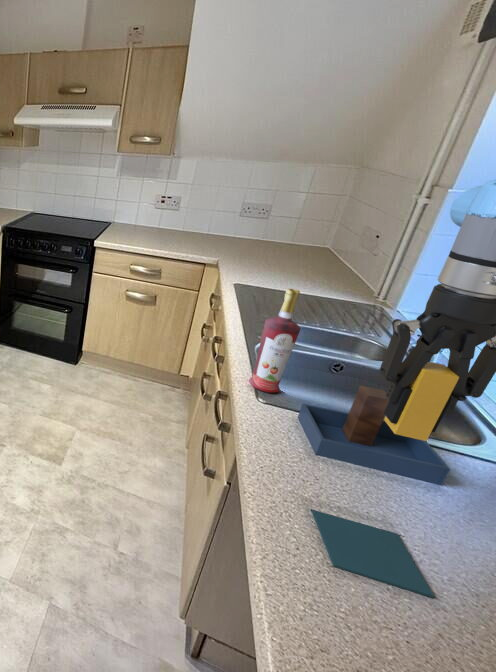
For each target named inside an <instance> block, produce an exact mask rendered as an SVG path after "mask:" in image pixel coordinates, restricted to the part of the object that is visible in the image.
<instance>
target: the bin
mask: <svg viewBox="0 0 496 672" xmlns="http://www.w3.org/2000/svg"><path fill="white" fill-rule="evenodd" d="M348 414H349V412H347V411H342V410H336V409H332V408H327V407H322V406H317V405H313V404H308V403H302V404H301V408H300V410H299V413H298V415H297V419H298V422H299V423H300V426H301V428H302V430H303V432H304V434H305V436H306V438H307V440H308V442H309V445H310V446H311V448H312V451H313V452H314V455H315V456H318V457H321V458H322V457H323V458H327V459H331V460H335V461H339V462H343V463H348V464H351V465H354V466H355V465H356V466H360V467H362V468H368V469H371V470H376V471H379V472H385V473H387V474H392V475H397V476H400V477H404V478H409V479H412V480H417V481H421V482H425V483H429V484H433V485H437V486H443V484H444V482H445V481H446V479H447V477H448V475H449V473H450V471H451V468H450V467H449V465H448V464H447V463H446V462H445V461H444V460H443V459H442V458H441V457H440V455H439V454H438V453H437V452H436V451H435V449H434V448H433V447H432V446H431V445H430V443H428V440H427V441H423V440H419V439H414V438H410V437H406V436H401V435H397V434H394V432H393V431H392V430H391V428H390V427H389V426H388V424H387V423H386V422H385V420H383V422H382V424H381V426H380V429H379V431H378V433H377V435H376V437H375V440H374V442H373V444H372V446H371V447H370V446H366V445H362V444H357V443H353V442H349V441H348V440H347V438H346V436H345V435H344V433H343V431H342V429H343V426H344V424H345V421H346V419H347V416H348Z"/></svg>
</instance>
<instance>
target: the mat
mask: <svg viewBox="0 0 496 672" xmlns="http://www.w3.org/2000/svg"><path fill="white" fill-rule="evenodd" d="M310 511H311V514H312V517H313V520H314V522H315V524H316V527H317V529H318V531H319V534H320V537H321V539H322V541H323V545H324V547H325V549H326V552H327V554H328V556H329V557H328V558H329V560H330V562H331V564H332V567H334V568H337V569H339V570H342V571H345V572H348V573H352V574H355V575H358V576H362V577H365V578H368V579H372V580H374V581H377V582H381V583H383V584H387V585H390V586H394V587H396V588H399V589H402V590H406V591H409V592H412V593H415V594H418V595H421V596H424V597H427V598H431V599H434V598H435V595H434V593H433V591H432V590H431V587H430V586H429V584H428V583H427V581H426V579H425V578H424V576H423V574H422V573H421V571H420V569H419V568H418V566H417V564H416V562H415V561H414V559H413V558H412V556H411V554H410V552H409V551H408V549H407V547H406V546H405V544H404V541H403V540H402V539H401V537H400V536H399V534H398V533H397V532H393V531H390V530H386V529H382V528H379V527H376V526H372V525H369V524H366V523H361V522H357V521H354V520H351V519H347V518H345V517H340V516H336V515H333V514H329V513H326V512H323V511H320V510H315V509H312V508H310Z"/></svg>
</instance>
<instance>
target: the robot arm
mask: <svg viewBox="0 0 496 672" xmlns="http://www.w3.org/2000/svg"><path fill="white" fill-rule="evenodd" d="M449 216H450V219H451V221H452V223H453V224H455V225H456V226H458V227H459V230H458V232H457V235H456V238H455V240H454V242H453V244H452V247H451V249H450V251H449V254H448V255H447V258H446V259H445V261H444V264H443V266H442V269H441V271H440V273H439V274H438V276H437V279H436V280H437V281H438V282H439V283H438V284H436V285H434V286H433V288H432V291H431V293H430V295H429V297H428V298H427V299H428V300H427V302H426V304H425V308H424V311H423V312H422V313H421V314H420V315H418V316H417V317H416V319H410V320H402V319H399V318H396V319H393V320H392V321H391V326H392V335H391V338H390V340H389V343H388V345H387V349H386V351H385V353H384V356H383V359H382V362H381V365H380V367H379V369H378V370H379V371H378V373H380V375H382V376H383V378H384V379H385V380H386V381H387V382H390V383H389V386H388V388H387V390H386V391H385V393H386V394H385V395H386V398H387V399H388V400H389V403H388V405H387V407H386V409H385V411H384V414H385V416H386V417H387V418H388V419H389V421H390V422H391V423H394V424H397V422H398V420H399V418H400V416H401V414H402V412H403V410H404V408H405V406H406V403H407V401H408V399H409V397H410V395H411V393H412V391H413V390H412V389H411V388H410V387H409V386H408V385H409V384H410V383H411V382H412V380H413V379H414V378H415V377H416V376H417V374H418V373H419V372H420V371H421V370H422V368H423V367H424V366H425V365H426V364H427V362H430V360H431V359H432V358H433V357H434V355H438V354H439V353H440V352H441V351H442V350H446V349H447V350H449V354H448V355H449V356H448V362H447V365H446V367H448V368H449V369H450V370H451V371H452V372H454V373H455V374H456V375H457V376H458V377H459V379H458V381H457V383H456V385H455V387H454V389H453V391H452V393H451V395H450V397H449V399H448V401H447V402H446V404H445V406H444V408H443V410H442V412H441V414H440V416H439V418H438V420H437V422H436V424H435V426H434V428H433V430H432V432H431V433H435V432H436V430H437V429H438V427H439V425H440V423H441V421H442V419H443V417H444V415H445V414H447V415H451V414H452V413H453V411H454V409H455V407H456V406H457V404H458V402H464V401H466V400H467V399H468V397H472V398H474V399H476V398H480V397H482V395H483V394H484V392H485V390H486V389H487V387H488V385H489V384H490V382H491V381H492V379H493V377H495V374H496V178H493V179H490V180H487V181H486V182H484V183H483V184H482V185H477V186H474V187H471V188H469V189H467V190H465V191H463V192H462V193H460V194H458V196H457V197H456V198H455V199H454V201H453V202H452V203H451V207H450V212H449ZM416 330H419V332H420V334H421V335H420V336H419V337H418V338H417V340H416V344H415V346H414V347H413V348H412V350H411V351H410V352H409V353H408V354H407V356H406V353H407V351H408V348H409V346H410V343H411V340H412V339H411V338H412V336H414V335H415V334H416ZM484 343H485V344H484ZM482 344H484V346H483V347H482V348H481V350H480V352H479V354H478V355H477V357H476V358H475V360H474V362H473V364H472V366H471V367H470V365H471V361H472V360H473V359H474V357H475V352H476V348H477V346H479V345H482ZM405 356H406V357H405Z"/></svg>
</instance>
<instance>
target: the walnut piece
mask: <svg viewBox="0 0 496 672" xmlns="http://www.w3.org/2000/svg"><path fill="white" fill-rule="evenodd" d="M385 394H386V391H385V390H384V389H382V388H381V389H380V388H376V387H370V386H364V385H359V386H358V390H357V392H356V395H355V396H354V399H353V402H352V405H351V407H350V410H349V412H348V413H349V414H348V416H347V419H346V421H345V424H344V426H343V429H342V431H343V433H344V435H345V436H346V438H347V440H348V441H349V442H353V443H357V444H362V445H366V446H370V447H371V446H372V444H373V442H374V440H375V437H376V435H377V433H378V431H379V429H380V426H381V424H382V422H383V420H384V419H385V414H384V411H385V409H386V407H387V405H388V403H389V400H388V399H387V398H386V395H385Z"/></svg>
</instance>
